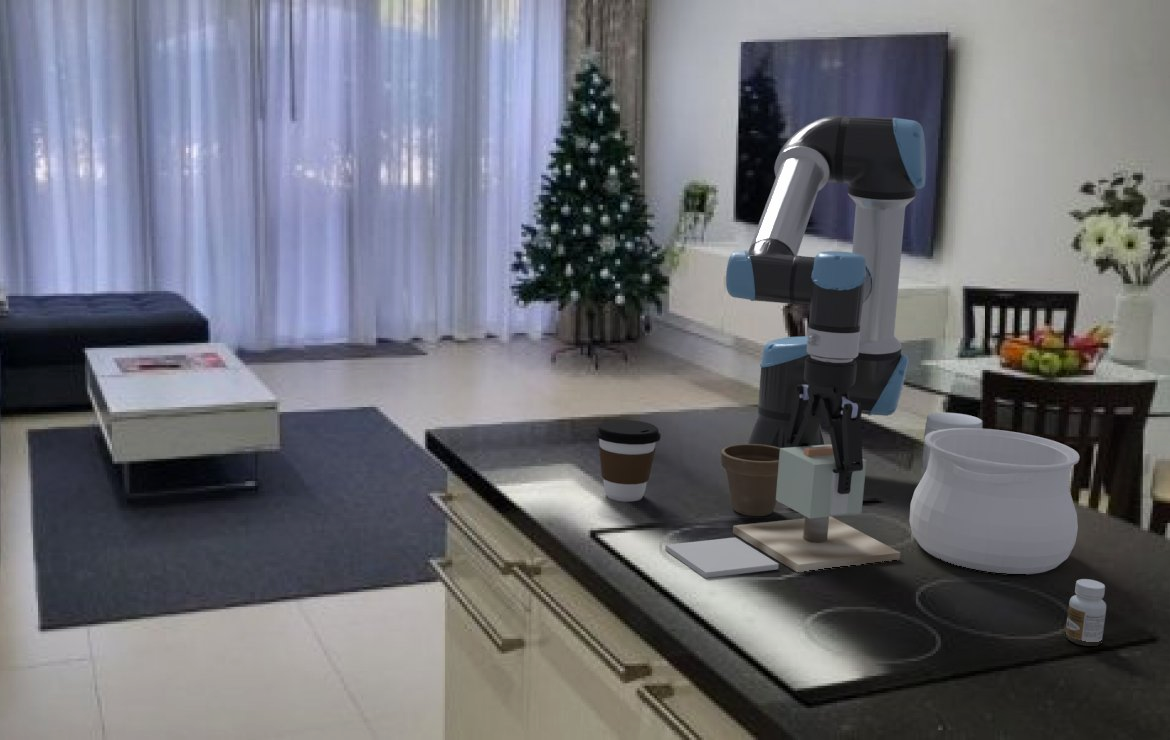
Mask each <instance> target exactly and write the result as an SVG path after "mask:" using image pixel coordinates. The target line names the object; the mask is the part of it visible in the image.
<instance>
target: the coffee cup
mask: <svg viewBox="0 0 1170 740" xmlns="http://www.w3.org/2000/svg"><path fill="white" fill-rule="evenodd" d="M659 431H660V430H659V428H658V427H657V425H654V424H652V423H649V422H645V421H640V420H631V419H612V420H606V421H602V422H601V423H599V425H598V426H597V428H596V430H595V431H594V436H595V437H597V439H598V440H599V443H598V451H599V461H600V472H601V477H602V479H603V480H602V481H603V488H604V489H603V490H604V494H605V496H606V497H607V498H608V499H610V500H612V501H613V500H614V501H617V502H626V503H627V502H636V501H640V500H642V499H643V498H644V497H643V496H644V495H645V493H646V489H647V484H648V482H649V479H650V475H651V471H652V467H653V461H654V457H655V454H656V453H655V451H656V443H657V442H659V441H660V440H661V435H662V434H661V433H660V432H659Z"/></svg>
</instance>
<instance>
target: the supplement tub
mask: <svg viewBox="0 0 1170 740" xmlns="http://www.w3.org/2000/svg"><path fill="white" fill-rule="evenodd" d="M924 426H925V427H924V436H923V447H922V448H923V449H922V459H921V460H922V461H921V471H920V481H921V479H922V477H923V475H924V474H925V472H926V470H927V467H928V462H929V456H930V447H928V446H927V445H926V444H925V442H924V441H925V436H926V435H927V434H928V433H930V432H933V431H937V430H942V429H951V428H980V429H983V419H981V418H979V417H976V416H972V415H969V414H965V413H964V414H963V413H957V412H933V413H930V414H927V416H926V422H925V425H924ZM920 481H919V482H920Z"/></svg>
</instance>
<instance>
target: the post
mask: <svg viewBox="0 0 1170 740" xmlns="http://www.w3.org/2000/svg"><path fill="white" fill-rule="evenodd" d="M732 534H733V535H735V536H737V537H739V539H742V540H743V541H744V542H747V543H749V544H750V545H752V546H753V547H755V548H757V549H758V550H760V551H762V552H763V553H764V554H767V556H770V557H772V558H773V559H775V560H776V561H778V562H780V563H781V564H783V565H785V566H786V567H788V568H789V569H791V570H793V571H794V572H796V573H798V572H799V573H804V571H807V572H810V571H809V570H815V571H819V570H818V569H823V570H825V569H824V568H831V569H833V568H832V567H840V566H848V567H851V566H850V565H856V566H862V565H861V564H864V565H867V564H866V563H873V564H875V563H874V562H881V563H885V562H884V561H889V562H893V561H892V560H897V561H900V560H899V559H901V552H900V551H898V550H896V549H895V548H893V547H891V546H889V545H886V544H885V543H883V542H881V541H880V540H877V539H875V538H873V537H871V536H869V535H868V534H866V533H864V532H862V531H860V530H858V529H856V528H854V527H852V526H851V525H848V524H846V523H844V522H843V521H841V520H839V519H836V518H835V517H834V516H830V517H821V518H811V519H810V518H808V517H806V516H804V518H796V519H795V518H794V519H785V520H777V521H776V520H775V521H768V522H767V521H765V522H756V523H745V524H737V525H734V524H733V527H732ZM882 561H883V562H882ZM840 568H841V567H840Z"/></svg>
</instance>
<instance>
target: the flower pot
mask: <svg viewBox="0 0 1170 740" xmlns="http://www.w3.org/2000/svg"><path fill="white" fill-rule="evenodd" d="M779 454H780V448H778V447H774V446H768V445H760V444H746V443H742V444H741V443H739V444H733V445H728V446H725V447H723V448H722V449H721V450H720V463H721V466H722V468H723V469H725V472H726V477H727V481H728V488H729V494H730V499H731V503H732V508H733V510H734V511H735V512H736V513H738V514H741V515H744V516H748V517H749V516H751V517H765V516H769V515H771V514H772V513H773V512H774V510H775V508H776V505H777V502H778V501H777V500H776V490H777V478H778V466H779Z"/></svg>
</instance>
